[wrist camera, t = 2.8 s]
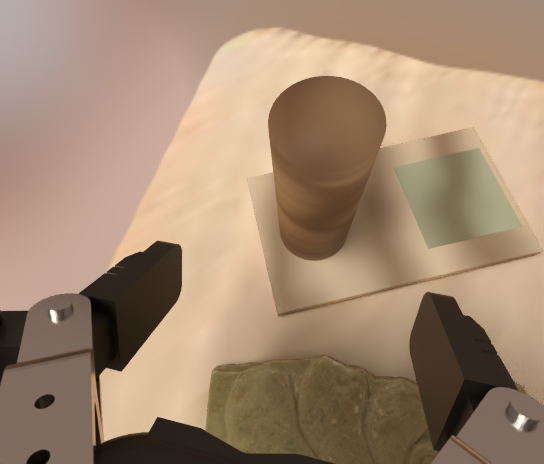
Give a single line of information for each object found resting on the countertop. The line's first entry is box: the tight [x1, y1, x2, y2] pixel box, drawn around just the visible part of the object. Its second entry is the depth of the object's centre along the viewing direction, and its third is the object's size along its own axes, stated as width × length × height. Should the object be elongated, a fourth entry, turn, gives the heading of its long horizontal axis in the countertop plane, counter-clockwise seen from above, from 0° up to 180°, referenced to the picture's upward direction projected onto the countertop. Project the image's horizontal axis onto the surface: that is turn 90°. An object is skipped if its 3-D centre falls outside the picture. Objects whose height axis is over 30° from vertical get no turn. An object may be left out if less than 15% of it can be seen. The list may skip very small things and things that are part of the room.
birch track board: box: [247, 127, 543, 316], centre depth 27 cm, size 19×11×1 cm, turn 103°
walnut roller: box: [268, 76, 386, 261], centre depth 20 cm, size 5×5×12 cm
